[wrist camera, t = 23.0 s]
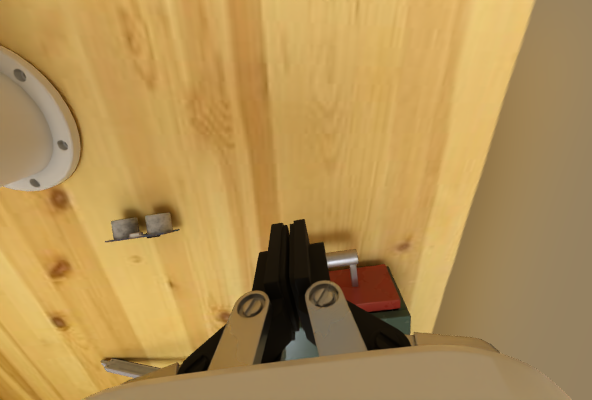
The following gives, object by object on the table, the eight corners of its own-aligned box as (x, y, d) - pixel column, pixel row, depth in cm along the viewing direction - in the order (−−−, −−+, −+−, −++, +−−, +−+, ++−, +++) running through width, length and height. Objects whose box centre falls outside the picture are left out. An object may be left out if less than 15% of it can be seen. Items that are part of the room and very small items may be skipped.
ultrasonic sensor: (180, 211, 27) (160, 213, 23) (184, 232, 27) (164, 237, 23) (129, 218, 27) (102, 222, 24) (132, 239, 27) (105, 246, 24)
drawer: (255, 249, 27) (247, 283, 22) (383, 231, 25) (400, 263, 21) (293, 364, 36) (291, 403, 31) (388, 355, 34) (400, 395, 30)
